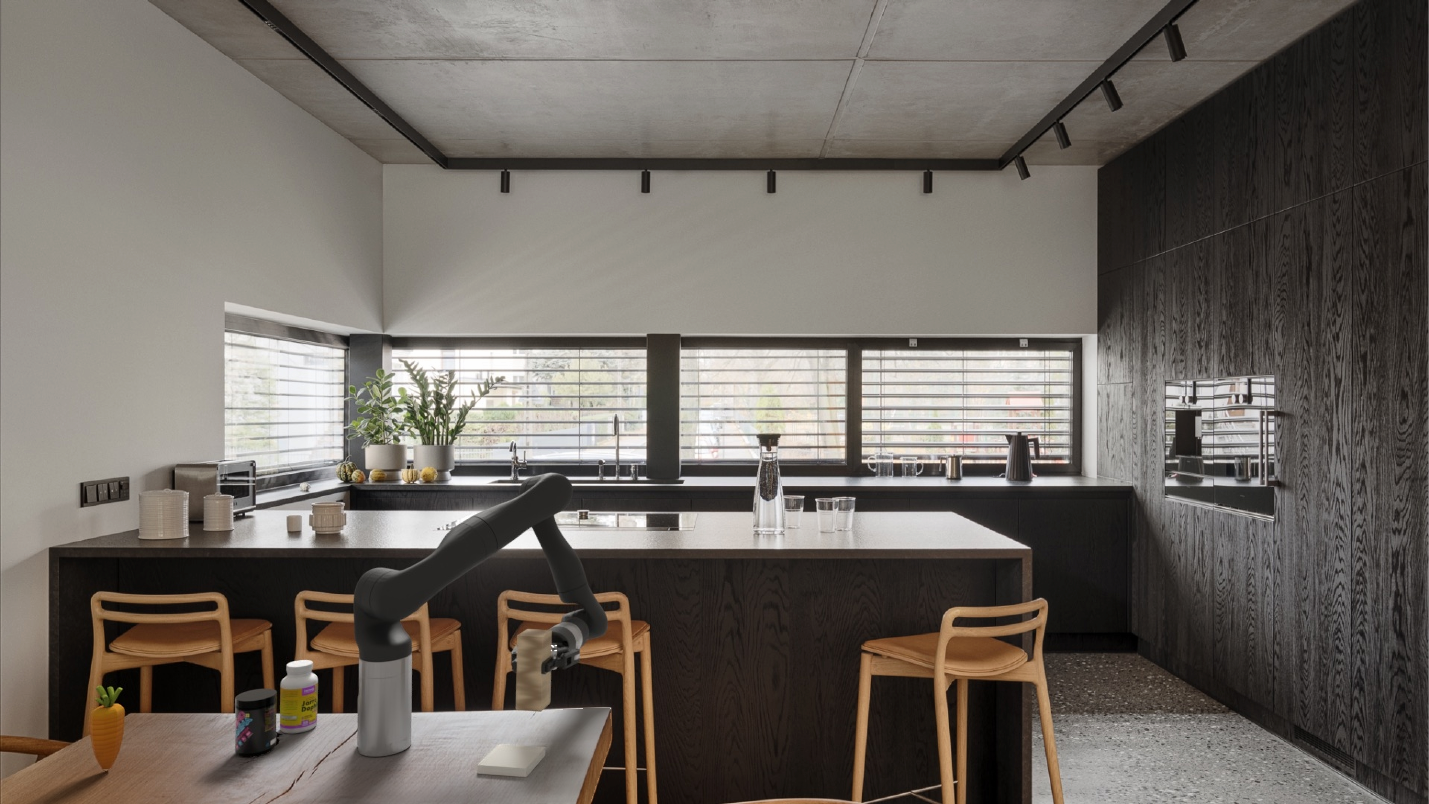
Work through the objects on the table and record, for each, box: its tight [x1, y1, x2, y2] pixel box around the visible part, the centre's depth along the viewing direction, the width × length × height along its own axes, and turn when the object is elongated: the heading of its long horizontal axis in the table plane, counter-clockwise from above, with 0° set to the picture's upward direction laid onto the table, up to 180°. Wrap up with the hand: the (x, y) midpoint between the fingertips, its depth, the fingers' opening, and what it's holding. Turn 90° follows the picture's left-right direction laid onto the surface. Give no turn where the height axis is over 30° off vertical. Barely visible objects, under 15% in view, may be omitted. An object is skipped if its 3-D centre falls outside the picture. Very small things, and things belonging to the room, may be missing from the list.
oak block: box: [515, 628, 552, 712], centre depth 155 cm, size 5×5×14 cm
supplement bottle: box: [279, 659, 319, 734], centre depth 161 cm, size 7×7×13 cm
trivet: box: [476, 743, 546, 778], centre depth 144 cm, size 9×9×2 cm
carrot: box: [89, 685, 126, 770], centre depth 141 cm, size 5×5×15 cm
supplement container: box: [234, 688, 278, 759], centre depth 150 cm, size 7×7×10 cm
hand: (529, 668), depth 153 cm, fingers closed on oak block, 5 cm apart
